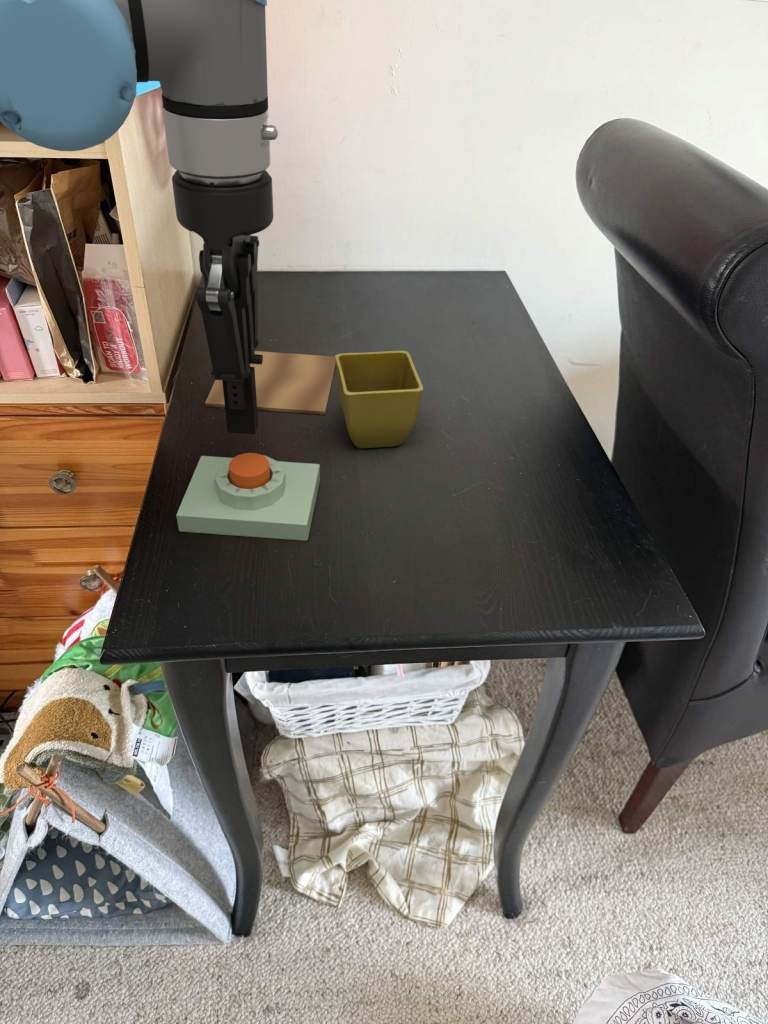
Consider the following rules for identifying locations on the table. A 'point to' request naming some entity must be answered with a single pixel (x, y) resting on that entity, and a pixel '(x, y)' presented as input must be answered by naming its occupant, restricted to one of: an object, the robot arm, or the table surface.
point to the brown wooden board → (287, 383)
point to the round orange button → (249, 470)
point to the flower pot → (378, 396)
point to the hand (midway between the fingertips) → (242, 429)
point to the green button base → (250, 501)
